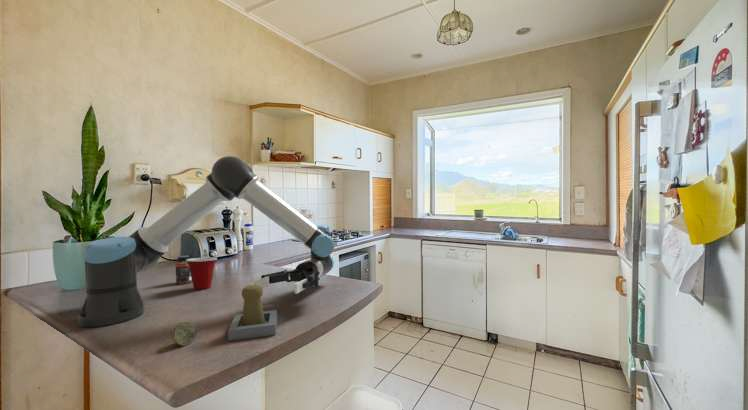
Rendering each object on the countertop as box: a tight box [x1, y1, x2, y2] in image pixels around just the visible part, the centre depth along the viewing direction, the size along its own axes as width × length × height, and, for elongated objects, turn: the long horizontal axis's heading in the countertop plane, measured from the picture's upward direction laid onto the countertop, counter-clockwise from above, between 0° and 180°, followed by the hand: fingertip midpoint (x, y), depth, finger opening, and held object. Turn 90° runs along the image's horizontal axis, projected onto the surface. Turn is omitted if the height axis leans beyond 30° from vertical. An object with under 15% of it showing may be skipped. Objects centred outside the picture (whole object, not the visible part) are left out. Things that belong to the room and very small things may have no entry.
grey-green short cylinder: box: [171, 321, 197, 347], centre depth 74 cm, size 4×5×5 cm
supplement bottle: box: [175, 255, 193, 285], centre depth 131 cm, size 6×6×11 cm
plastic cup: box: [186, 256, 218, 291], centre depth 122 cm, size 11×11×12 cm
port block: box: [227, 309, 278, 342], centre depth 82 cm, size 11×11×2 cm
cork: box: [241, 284, 265, 326], centre depth 82 cm, size 6×6×11 cm
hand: (274, 287), depth 91 cm, fingers open, 13 cm apart
